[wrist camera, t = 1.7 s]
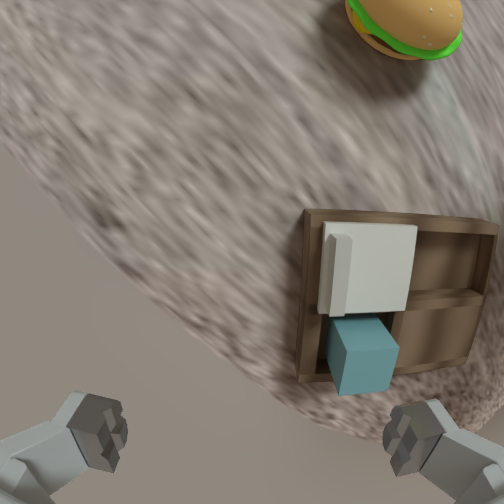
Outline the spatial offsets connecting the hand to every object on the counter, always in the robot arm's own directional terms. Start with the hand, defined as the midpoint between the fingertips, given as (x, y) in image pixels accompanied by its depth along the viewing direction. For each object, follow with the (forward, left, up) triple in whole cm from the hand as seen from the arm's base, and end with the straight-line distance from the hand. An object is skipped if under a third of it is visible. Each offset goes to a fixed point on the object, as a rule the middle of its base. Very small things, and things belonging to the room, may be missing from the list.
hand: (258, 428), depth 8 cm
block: (-9, +8, -20) cm, 24 cm away
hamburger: (-13, -24, -21) cm, 34 cm away
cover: (-9, +1, -18) cm, 20 cm away
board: (-14, +4, -21) cm, 26 cm away
